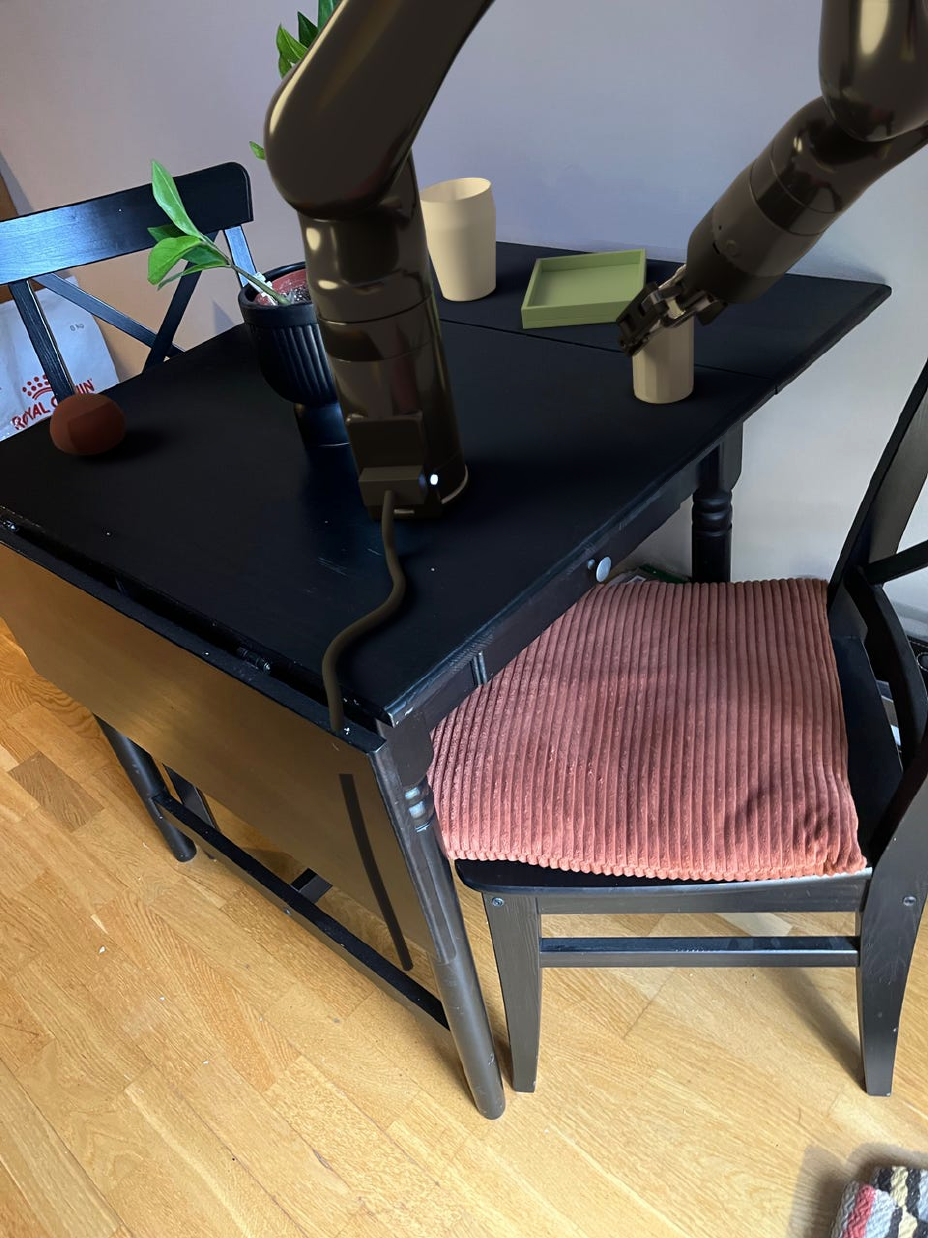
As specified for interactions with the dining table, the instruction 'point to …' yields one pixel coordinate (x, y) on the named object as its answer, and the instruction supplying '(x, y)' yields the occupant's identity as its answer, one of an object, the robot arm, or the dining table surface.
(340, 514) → the dining table surface
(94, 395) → the potato
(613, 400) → the dining table surface
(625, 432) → the dining table surface
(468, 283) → the cup
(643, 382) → the tumbler
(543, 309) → the tray
